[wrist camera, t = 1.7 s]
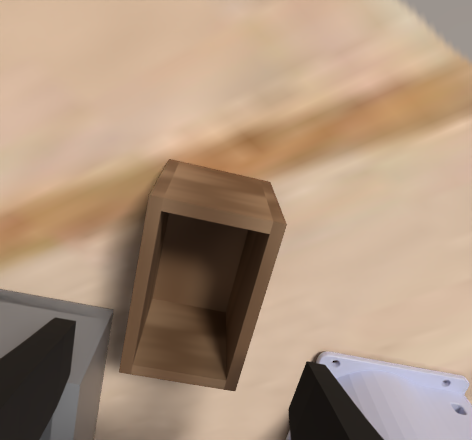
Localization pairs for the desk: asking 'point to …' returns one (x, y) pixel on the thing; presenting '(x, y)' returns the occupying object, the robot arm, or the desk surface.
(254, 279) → the small crate
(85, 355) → the big crate
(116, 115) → the desk surface
